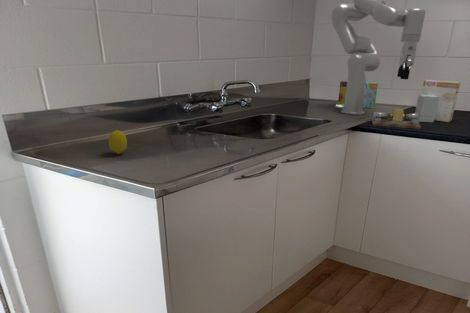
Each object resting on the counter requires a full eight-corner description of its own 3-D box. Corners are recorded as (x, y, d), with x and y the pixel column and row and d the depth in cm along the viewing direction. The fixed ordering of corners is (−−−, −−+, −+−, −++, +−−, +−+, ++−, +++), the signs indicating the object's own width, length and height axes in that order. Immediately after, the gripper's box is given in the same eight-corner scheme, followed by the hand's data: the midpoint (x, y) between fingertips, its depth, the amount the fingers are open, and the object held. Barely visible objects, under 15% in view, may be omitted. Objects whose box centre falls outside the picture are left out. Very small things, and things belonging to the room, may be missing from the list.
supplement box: (434, 122, 168) (439, 96, 164) (418, 121, 169) (423, 96, 165) (428, 119, 175) (434, 94, 171) (413, 118, 176) (418, 94, 172)
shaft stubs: (373, 123, 159) (375, 111, 158) (371, 120, 167) (373, 108, 165) (420, 127, 154) (423, 114, 153) (416, 123, 162) (419, 111, 160)
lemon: (120, 150, 112) (118, 126, 109) (131, 153, 109) (129, 129, 106) (105, 154, 108) (103, 130, 105) (117, 158, 105) (114, 132, 102)
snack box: (374, 107, 205) (378, 82, 201) (374, 109, 201) (378, 83, 196) (338, 104, 213) (341, 79, 209) (337, 105, 209) (340, 80, 204)
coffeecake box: (451, 120, 173) (461, 81, 167) (448, 122, 168) (458, 82, 162) (419, 115, 182) (427, 78, 176) (416, 117, 177) (423, 79, 171)
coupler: (402, 121, 162) (404, 109, 160) (404, 124, 157) (406, 111, 155) (387, 120, 163) (390, 108, 161) (389, 122, 159) (391, 110, 157)
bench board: (373, 125, 159) (373, 122, 158) (371, 120, 168) (371, 118, 167) (420, 128, 154) (420, 126, 153) (415, 124, 163) (416, 121, 162)
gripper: (423, 39, 142) (414, 80, 148) (416, 39, 158) (408, 76, 164) (404, 38, 144) (396, 79, 150) (398, 38, 160) (391, 75, 165)
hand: (402, 78), depth 157 cm, fingers open, 9 cm apart
